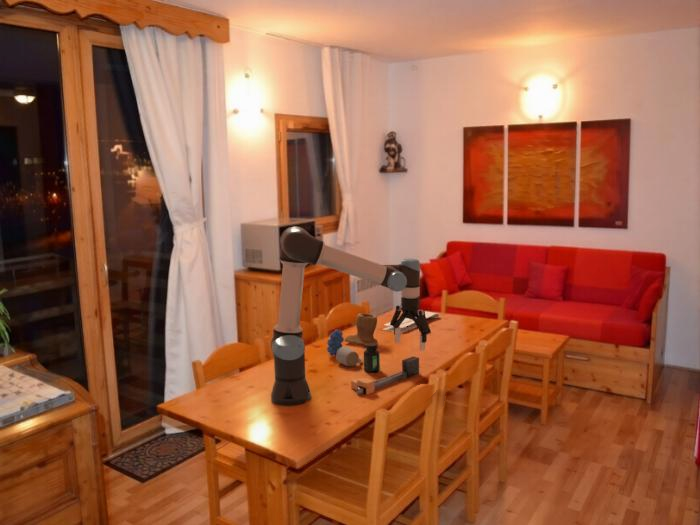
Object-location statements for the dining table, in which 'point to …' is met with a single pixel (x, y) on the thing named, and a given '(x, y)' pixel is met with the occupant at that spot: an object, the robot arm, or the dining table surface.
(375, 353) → the supplement bottle
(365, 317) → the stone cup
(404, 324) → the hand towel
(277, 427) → the dining table surface
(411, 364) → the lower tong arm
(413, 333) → the dining table surface
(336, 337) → the grapes
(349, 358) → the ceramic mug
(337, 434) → the dining table surface
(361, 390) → the upper tong arm
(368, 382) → the lock collar
